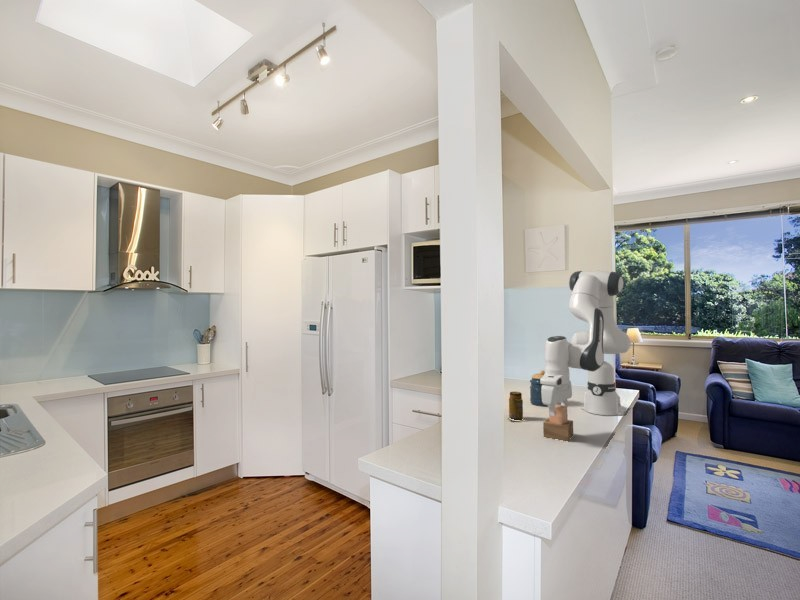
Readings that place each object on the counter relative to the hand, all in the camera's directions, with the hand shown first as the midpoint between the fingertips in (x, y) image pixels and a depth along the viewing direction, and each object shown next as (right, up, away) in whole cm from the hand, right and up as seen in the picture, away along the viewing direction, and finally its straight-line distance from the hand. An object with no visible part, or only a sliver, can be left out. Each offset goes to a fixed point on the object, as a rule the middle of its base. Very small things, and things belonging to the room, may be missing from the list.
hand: (558, 413), depth 154 cm
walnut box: (0, -9, 0) cm, 9 cm away
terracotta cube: (0, -3, 0) cm, 3 cm away
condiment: (-9, -10, +24) cm, 28 cm away
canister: (+13, -11, +53) cm, 55 cm away
